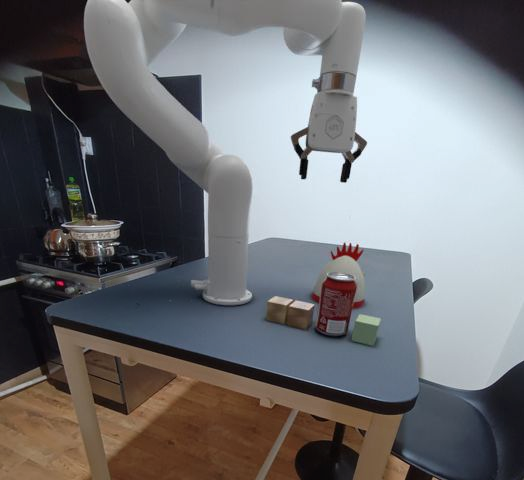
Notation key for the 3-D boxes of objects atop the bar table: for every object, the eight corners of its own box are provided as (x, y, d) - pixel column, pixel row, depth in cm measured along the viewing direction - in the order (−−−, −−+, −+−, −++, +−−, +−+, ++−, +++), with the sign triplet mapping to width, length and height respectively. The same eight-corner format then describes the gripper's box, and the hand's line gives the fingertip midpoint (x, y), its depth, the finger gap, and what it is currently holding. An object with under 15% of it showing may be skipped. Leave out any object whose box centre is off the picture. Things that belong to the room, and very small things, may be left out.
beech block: (286, 325, 69) (288, 305, 67) (293, 318, 72) (295, 300, 70) (305, 329, 67) (308, 310, 65) (312, 322, 71) (314, 304, 69)
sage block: (350, 340, 64) (355, 320, 62) (355, 333, 68) (359, 313, 65) (373, 346, 62) (378, 325, 60) (376, 338, 66) (381, 318, 64)
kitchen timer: (369, 310, 81) (383, 249, 74) (315, 306, 81) (325, 245, 74) (356, 293, 93) (367, 240, 86) (309, 290, 93) (317, 236, 86)
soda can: (347, 340, 64) (360, 282, 58) (313, 335, 65) (323, 277, 59) (346, 327, 70) (357, 273, 64) (315, 323, 71) (324, 269, 65)
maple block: (265, 319, 71) (267, 301, 69) (273, 313, 74) (275, 295, 72) (284, 324, 69) (286, 305, 67) (291, 318, 73) (293, 299, 71)
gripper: (299, 79, 62) (289, 178, 70) (382, 88, 64) (364, 183, 72) (292, 89, 69) (284, 178, 77) (368, 97, 71) (353, 183, 79)
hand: (323, 180), depth 75 cm, fingers open, 9 cm apart
